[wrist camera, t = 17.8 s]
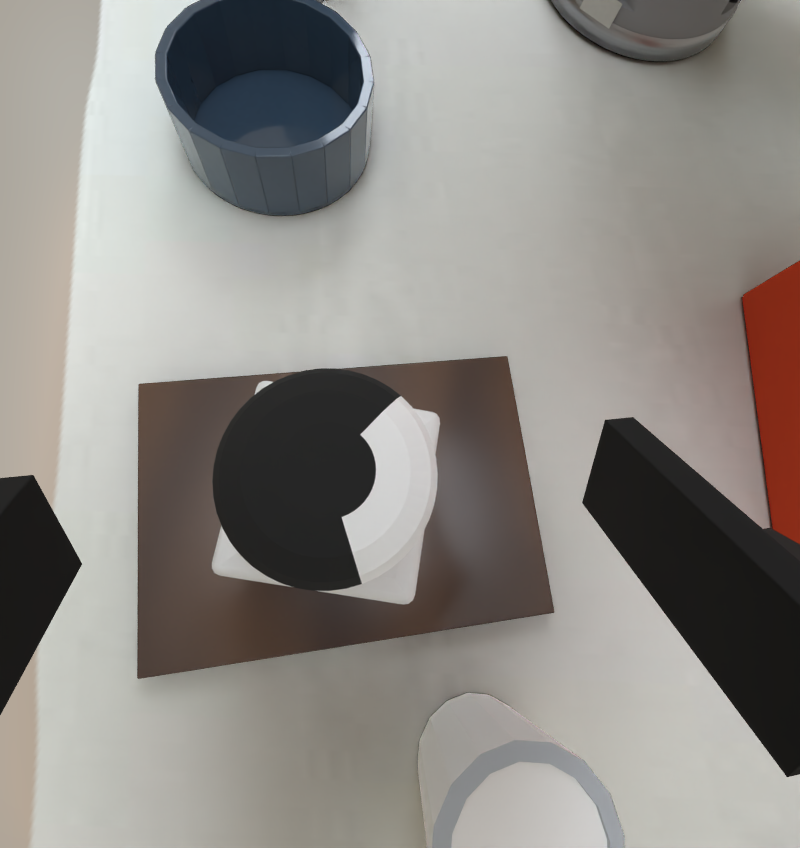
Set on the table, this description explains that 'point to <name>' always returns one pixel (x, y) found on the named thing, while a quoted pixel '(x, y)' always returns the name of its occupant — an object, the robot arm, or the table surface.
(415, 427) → the medicine bottle
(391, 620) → the board
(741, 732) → the table surface
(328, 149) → the mug
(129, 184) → the table surface
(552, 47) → the table surface
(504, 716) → the white short cylinder
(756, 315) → the file binder
